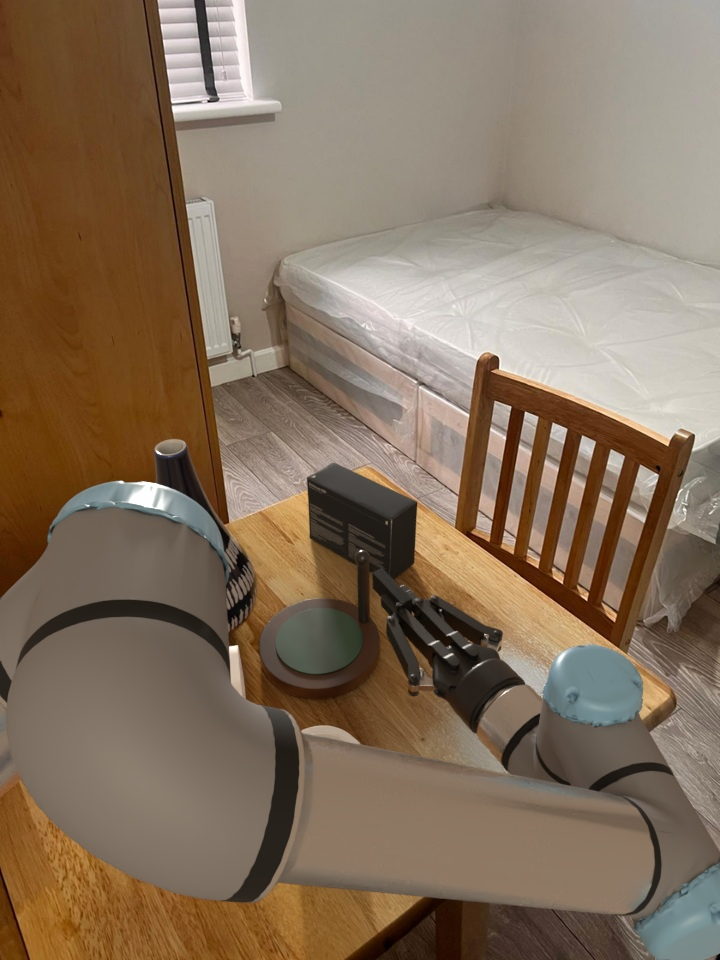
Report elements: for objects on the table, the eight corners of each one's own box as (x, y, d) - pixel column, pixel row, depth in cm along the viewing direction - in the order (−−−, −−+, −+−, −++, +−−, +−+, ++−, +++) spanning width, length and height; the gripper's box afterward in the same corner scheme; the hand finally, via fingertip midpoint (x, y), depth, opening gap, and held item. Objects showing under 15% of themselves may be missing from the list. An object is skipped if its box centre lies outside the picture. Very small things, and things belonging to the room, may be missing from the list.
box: (417, 562, 112) (419, 500, 106) (389, 585, 108) (389, 522, 101) (336, 519, 122) (333, 459, 115) (308, 538, 118) (303, 478, 111)
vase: (285, 618, 103) (266, 440, 86) (197, 688, 93) (156, 503, 77) (212, 570, 112) (181, 401, 95) (124, 630, 102) (73, 452, 85)
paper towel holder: (294, 719, 89) (285, 639, 81) (240, 637, 100) (228, 559, 92) (403, 664, 96) (404, 585, 87) (341, 592, 107) (337, 516, 99)
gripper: (449, 762, 74) (333, 620, 91) (544, 704, 80) (419, 580, 96) (452, 715, 70) (330, 575, 87) (553, 658, 75) (420, 536, 92)
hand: (377, 578), depth 91 cm, fingers closed
